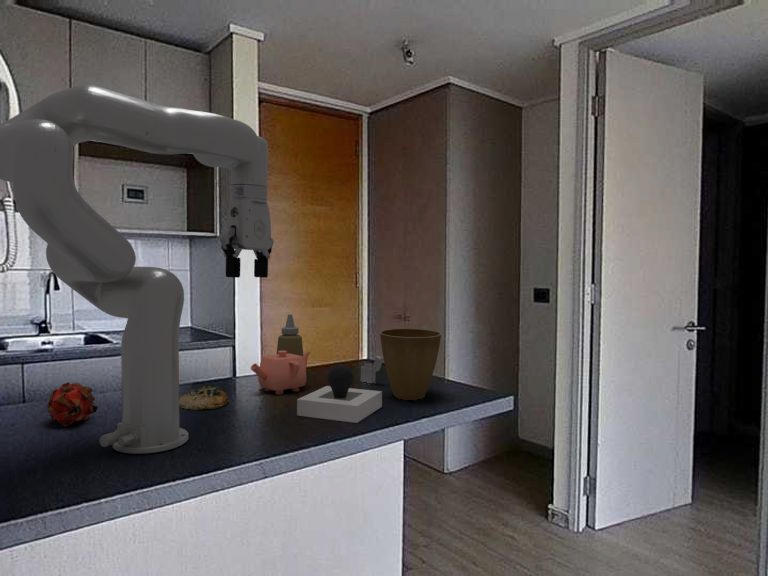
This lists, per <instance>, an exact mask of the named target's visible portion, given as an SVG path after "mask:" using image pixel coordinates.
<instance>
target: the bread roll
mask: <svg viewBox="0 0 768 576" xmlns="http://www.w3.org/2000/svg"><path fill="white" fill-rule="evenodd" d="M229 402H230V401H229V397H228V395H227V392H225V391H223V390H221V389H220V388H219V386H215V387H212V386H207V387H206V386H201V388H198V389H197V388H195V389H191V390H190V391H189V392H188V393H185V394H183V395H181V396H179V408H180V407H181V408H180V409H182V408H184V409H183V410H188V409H190V411H204V410H203V409H205V410H214V409H216V410H217V409H221V408H223V407H225V406H226V405H228V403H229Z"/></svg>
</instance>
